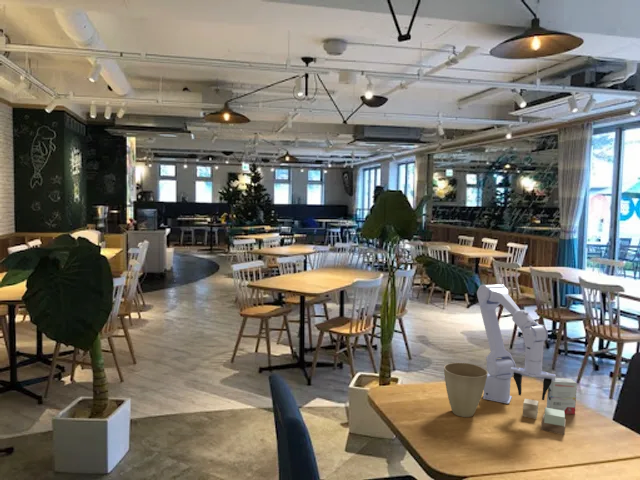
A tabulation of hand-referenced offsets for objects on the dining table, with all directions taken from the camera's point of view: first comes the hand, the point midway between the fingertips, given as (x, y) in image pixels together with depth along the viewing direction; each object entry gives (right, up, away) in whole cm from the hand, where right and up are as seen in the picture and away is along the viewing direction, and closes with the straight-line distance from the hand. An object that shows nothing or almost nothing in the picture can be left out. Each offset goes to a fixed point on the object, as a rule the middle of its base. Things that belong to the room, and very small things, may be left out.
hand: (531, 396), depth 180 cm
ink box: (+13, -7, +5) cm, 15 cm away
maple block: (0, -7, +1) cm, 7 cm away
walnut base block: (+3, -8, -9) cm, 13 cm away
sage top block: (+4, -5, -10) cm, 12 cm away
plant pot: (-24, -6, +1) cm, 25 cm away
